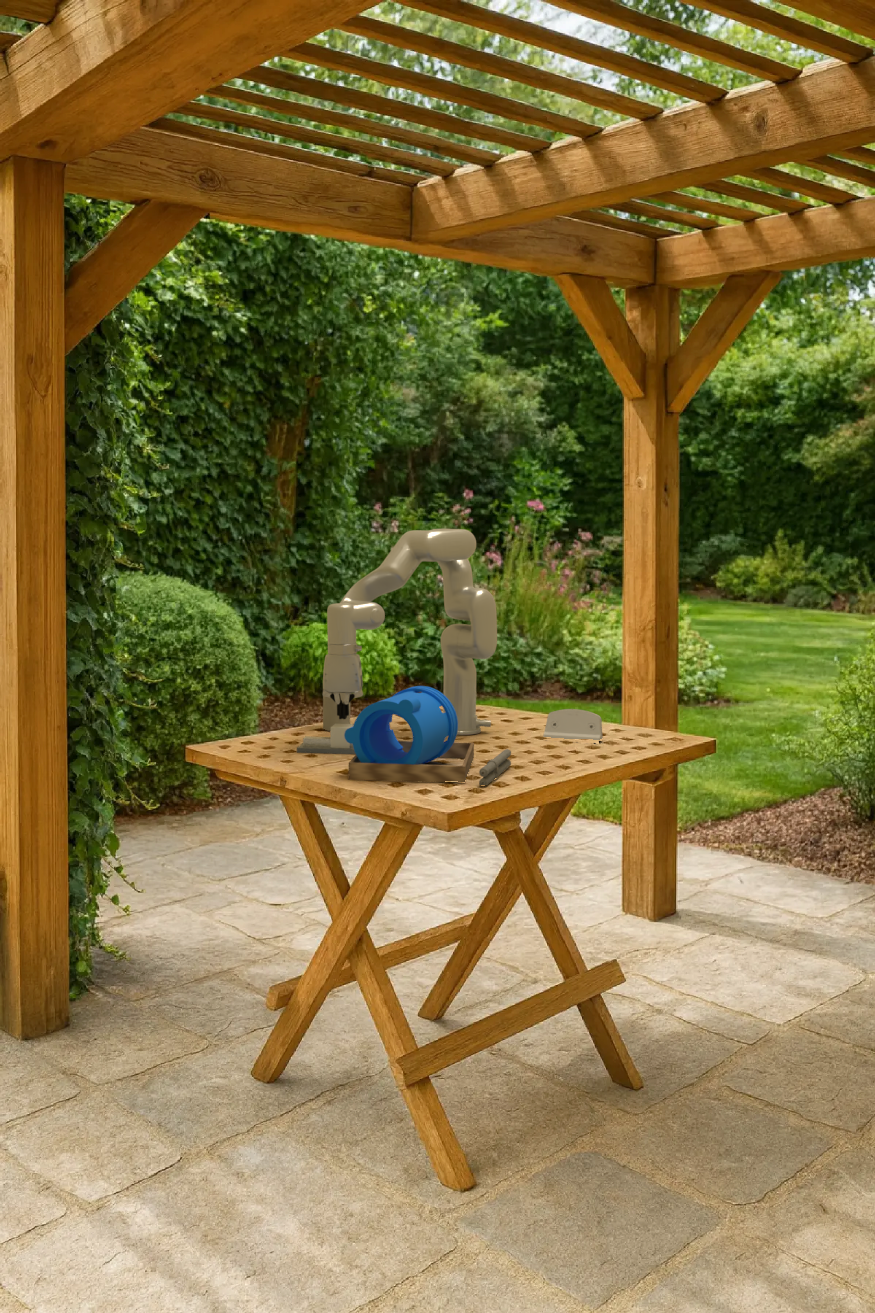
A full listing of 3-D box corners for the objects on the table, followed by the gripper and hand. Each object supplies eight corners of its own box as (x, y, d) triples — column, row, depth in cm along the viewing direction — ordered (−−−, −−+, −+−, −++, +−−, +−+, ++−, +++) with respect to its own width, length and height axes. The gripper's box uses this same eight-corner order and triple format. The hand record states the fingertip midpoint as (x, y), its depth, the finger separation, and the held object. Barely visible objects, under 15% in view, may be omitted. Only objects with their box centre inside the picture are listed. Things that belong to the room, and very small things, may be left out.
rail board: (384, 748, 327) (384, 736, 326) (379, 754, 317) (379, 742, 317) (304, 745, 329) (304, 734, 328) (296, 752, 319) (296, 740, 319)
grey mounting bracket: (541, 740, 341) (544, 705, 343) (544, 743, 346) (547, 709, 348) (600, 744, 337) (603, 709, 339) (602, 747, 341) (605, 712, 343)
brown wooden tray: (473, 757, 314) (473, 742, 314) (465, 783, 283) (465, 766, 283) (368, 754, 317) (368, 739, 317) (348, 779, 286) (348, 763, 285)
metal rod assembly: (501, 767, 304) (501, 747, 303) (512, 768, 303) (512, 748, 303) (476, 788, 279) (477, 767, 279) (488, 789, 279) (488, 767, 278)
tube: (431, 779, 310) (371, 737, 314) (474, 709, 305) (412, 667, 309) (396, 799, 286) (332, 753, 291) (442, 724, 281) (376, 678, 285)
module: (353, 744, 326) (353, 724, 325) (349, 748, 319) (349, 728, 319) (334, 743, 326) (334, 723, 326) (330, 747, 320) (330, 727, 319)
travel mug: (355, 729, 357) (355, 668, 355) (340, 732, 350) (340, 671, 348) (332, 726, 361) (333, 666, 359) (317, 730, 354) (317, 669, 352)
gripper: (372, 648, 323) (372, 716, 325) (317, 648, 325) (318, 715, 327) (367, 652, 316) (368, 721, 318) (311, 651, 317) (312, 720, 319)
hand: (343, 718), depth 322 cm, fingers closed
